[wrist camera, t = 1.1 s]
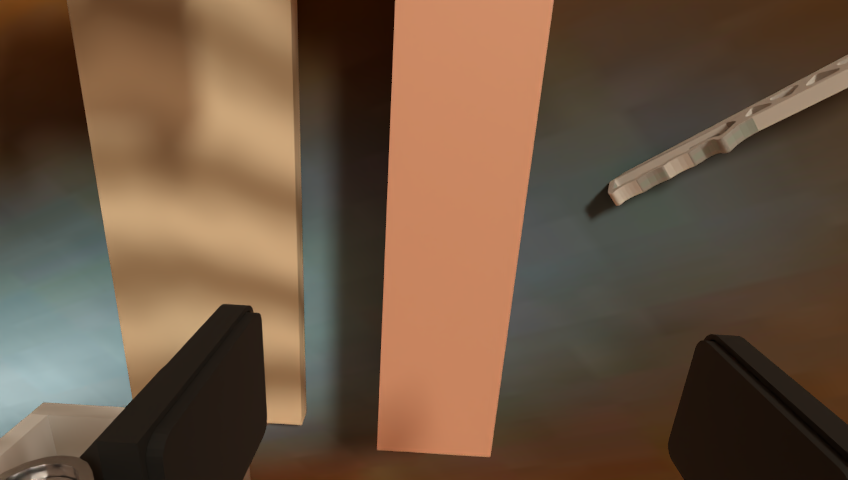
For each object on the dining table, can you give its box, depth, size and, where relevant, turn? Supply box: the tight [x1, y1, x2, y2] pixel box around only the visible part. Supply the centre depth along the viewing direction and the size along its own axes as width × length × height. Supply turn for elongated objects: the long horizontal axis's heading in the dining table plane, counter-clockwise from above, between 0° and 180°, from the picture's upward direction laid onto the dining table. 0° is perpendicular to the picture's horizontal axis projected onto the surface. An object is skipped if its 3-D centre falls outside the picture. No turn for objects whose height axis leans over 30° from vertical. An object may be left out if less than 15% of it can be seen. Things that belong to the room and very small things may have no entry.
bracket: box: [608, 55, 848, 206], centre depth 23 cm, size 3×21×10 cm, turn 126°
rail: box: [377, 0, 554, 457], centre depth 24 cm, size 25×6×7 cm, turn 176°
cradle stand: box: [0, 0, 306, 480], centre depth 21 cm, size 32×11×12 cm, turn 176°
